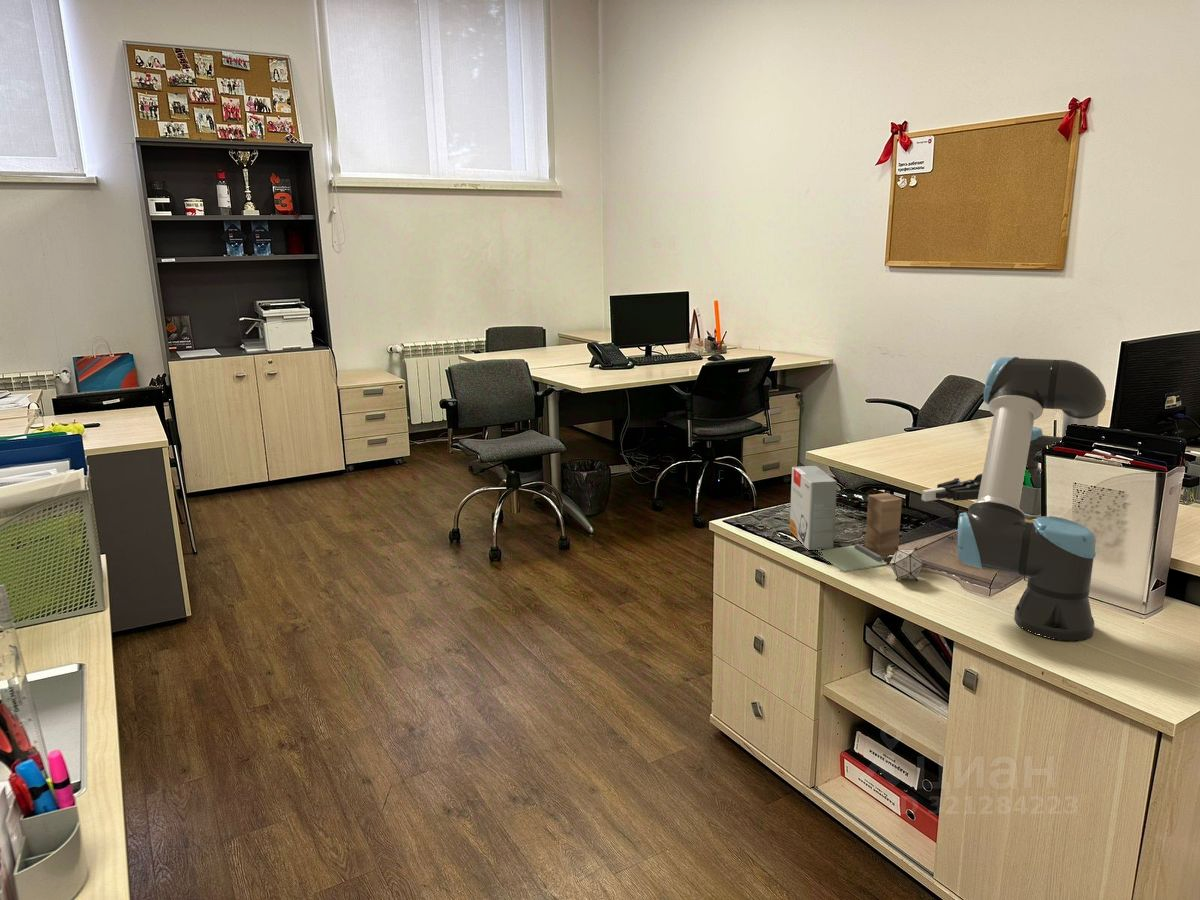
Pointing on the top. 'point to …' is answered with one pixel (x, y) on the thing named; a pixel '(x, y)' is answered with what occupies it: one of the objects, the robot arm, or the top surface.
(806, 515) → the hard drive box
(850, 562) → the pale green square plate
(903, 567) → the game die
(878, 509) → the walnut block
